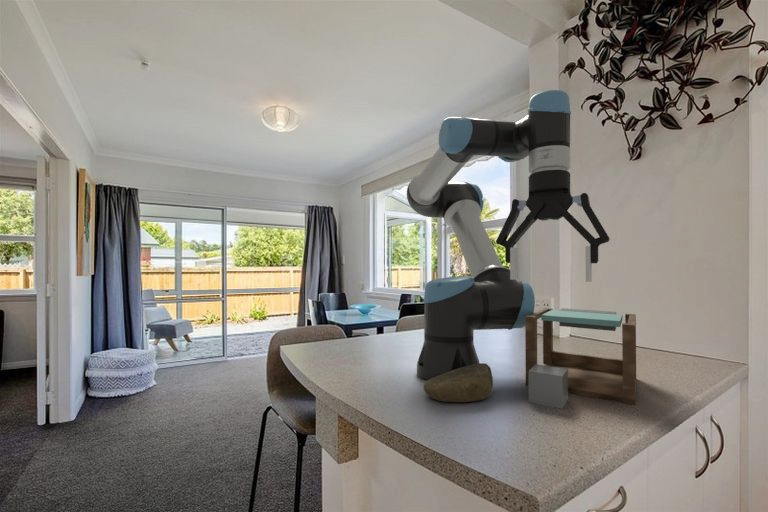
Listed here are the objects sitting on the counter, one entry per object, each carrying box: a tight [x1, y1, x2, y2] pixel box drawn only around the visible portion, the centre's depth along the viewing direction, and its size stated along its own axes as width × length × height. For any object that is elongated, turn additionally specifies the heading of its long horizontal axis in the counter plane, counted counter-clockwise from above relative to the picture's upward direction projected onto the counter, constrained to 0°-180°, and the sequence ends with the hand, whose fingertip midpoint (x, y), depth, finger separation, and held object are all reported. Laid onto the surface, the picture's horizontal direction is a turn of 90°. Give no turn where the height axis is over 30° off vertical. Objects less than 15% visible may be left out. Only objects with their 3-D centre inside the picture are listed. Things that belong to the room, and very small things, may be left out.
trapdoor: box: [540, 307, 623, 332], centre depth 87 cm, size 15×18×4 cm
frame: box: [524, 307, 637, 406], centre depth 84 cm, size 20×20×15 cm
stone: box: [423, 362, 494, 403], centre depth 74 cm, size 9×14×10 cm, turn 109°
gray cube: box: [528, 363, 569, 410], centre depth 73 cm, size 6×6×6 cm
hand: (549, 280), depth 73 cm, fingers open, 13 cm apart
